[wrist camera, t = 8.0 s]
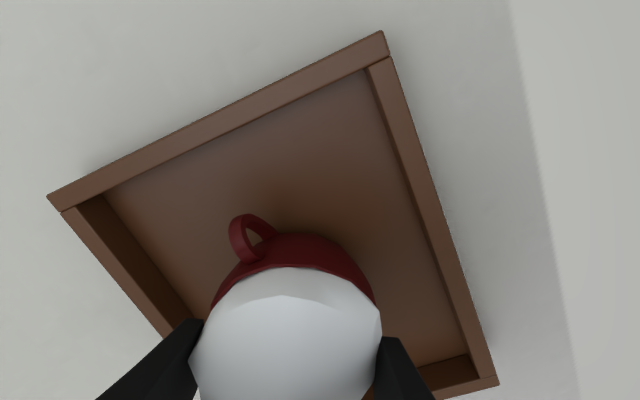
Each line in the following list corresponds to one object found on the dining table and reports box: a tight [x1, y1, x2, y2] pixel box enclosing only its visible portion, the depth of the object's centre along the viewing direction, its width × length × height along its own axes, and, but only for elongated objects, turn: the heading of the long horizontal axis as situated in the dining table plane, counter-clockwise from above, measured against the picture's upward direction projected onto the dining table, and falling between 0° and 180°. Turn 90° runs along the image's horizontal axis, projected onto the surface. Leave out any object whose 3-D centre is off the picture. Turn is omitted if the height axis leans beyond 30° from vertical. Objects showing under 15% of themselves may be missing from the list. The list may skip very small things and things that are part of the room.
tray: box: [46, 30, 500, 400], centre depth 14 cm, size 17×14×2 cm
